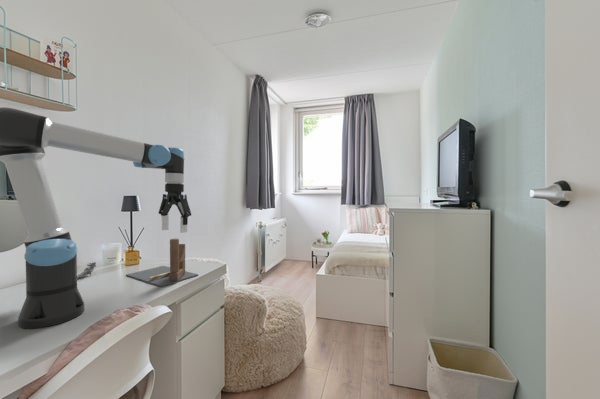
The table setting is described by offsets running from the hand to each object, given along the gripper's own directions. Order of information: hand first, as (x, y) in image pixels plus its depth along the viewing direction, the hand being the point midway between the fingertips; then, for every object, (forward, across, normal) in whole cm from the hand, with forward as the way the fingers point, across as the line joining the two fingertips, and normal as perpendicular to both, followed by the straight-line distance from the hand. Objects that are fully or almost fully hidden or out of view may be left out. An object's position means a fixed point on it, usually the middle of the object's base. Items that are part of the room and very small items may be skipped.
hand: (174, 231), depth 119 cm
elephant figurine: (+22, +38, +18) cm, 47 cm away
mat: (+22, +10, -1) cm, 24 cm away
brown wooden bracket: (+21, 0, -2) cm, 21 cm away
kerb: (+22, +5, -1) cm, 22 cm away
